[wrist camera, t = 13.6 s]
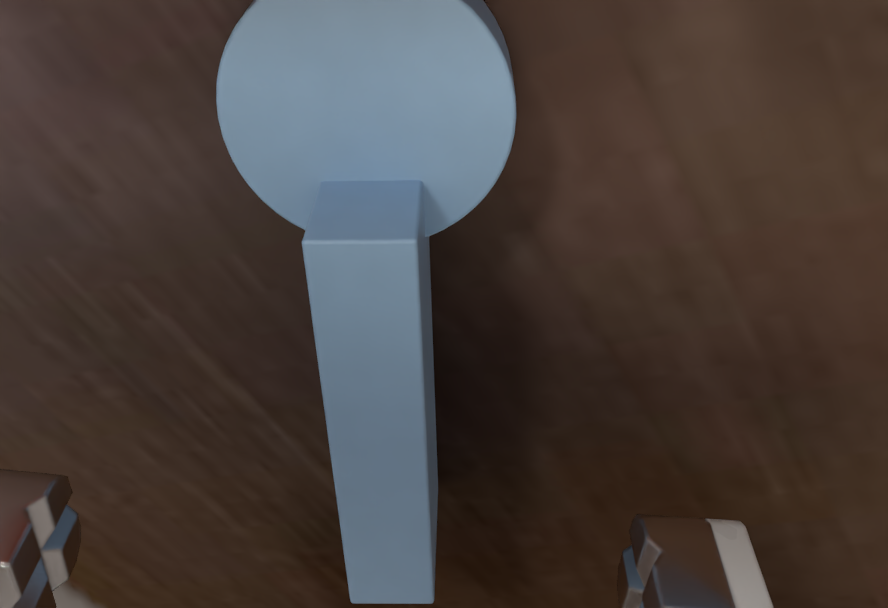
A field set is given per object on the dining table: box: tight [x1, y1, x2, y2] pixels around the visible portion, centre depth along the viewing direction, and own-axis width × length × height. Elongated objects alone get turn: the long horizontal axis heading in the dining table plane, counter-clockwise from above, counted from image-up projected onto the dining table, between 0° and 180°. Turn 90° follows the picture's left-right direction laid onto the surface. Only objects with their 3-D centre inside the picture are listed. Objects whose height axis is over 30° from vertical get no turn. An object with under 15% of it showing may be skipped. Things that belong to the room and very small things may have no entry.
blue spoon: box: [216, 0, 516, 604], centre depth 14 cm, size 11×4×3 cm, turn 1°
